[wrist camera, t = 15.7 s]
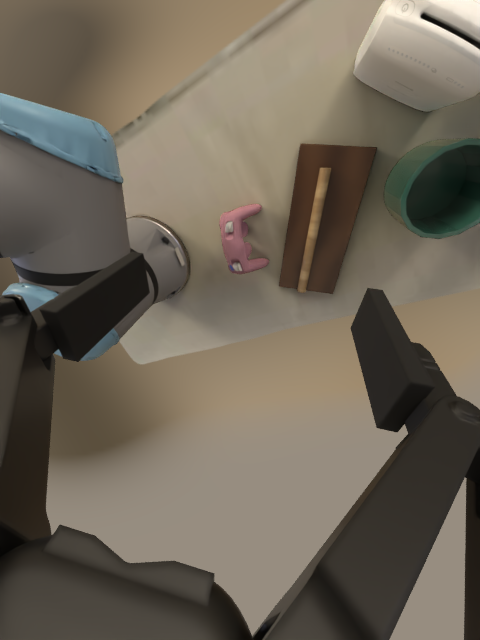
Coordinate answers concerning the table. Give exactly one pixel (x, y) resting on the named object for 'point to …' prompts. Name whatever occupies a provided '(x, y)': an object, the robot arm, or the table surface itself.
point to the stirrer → (314, 227)
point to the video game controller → (239, 240)
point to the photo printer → (423, 52)
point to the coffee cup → (436, 188)
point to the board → (324, 212)
